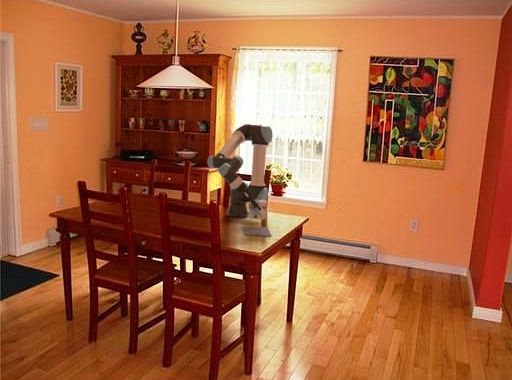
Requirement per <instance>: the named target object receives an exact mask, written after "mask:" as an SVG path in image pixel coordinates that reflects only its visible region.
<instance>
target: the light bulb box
mask: <svg viewBox="0 0 512 380" xmlns="http://www.w3.org/2000/svg"><path fill="white" fill-rule="evenodd" d="M255 201H256V202H257V204H258V205H260V207H261V208H262V209H263V210H264V211H265V212H266V213H265V214H263V215H262V214H261V213H260V212H259V211H258V210H257V209H256V208H254V206H253V204H252V203H251V202H250V201H249V203H248V218H249V219H250V220H251V219H254V220H266V219H267V213H268V212H267V211H268V203H269V202H268V201H267V200H255ZM255 205H256V204H255Z"/></svg>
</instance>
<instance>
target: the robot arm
mask: <svg viewBox="0 0 512 380" xmlns="http://www.w3.org/2000/svg"><path fill="white" fill-rule="evenodd" d="M272 140H273V130H272V128H271V126H270V125H267V124H259V123H246V124H243V125H241V126H239V127H238V128H237V129H235V130H234V132H232V134H231V137H230V138H229V139H228V140H227V142H226V143H225V144H224V145H223V146H222V147H221V148H220V150H219V151H218V152H217V153H216V154H215V155H209V156H208V158H207V160H206V161H207V166H208V167H209V168H212V169H214V170H215V169H216V170H217V172H218V173H219V175H220V176H221V178H223V179H224V180H225V181H226V182H227V183H228V184H229V187H230V195H229V205H228V208H227V211H226V216H227V217H230V218H234V219H235V218H238V219H240V218H241V219H243V218H247V217H248V211H249V209H248V206H247V203H248V204H249V201H250V202H251V203H252V204H253V206H254V208H256V209H257V210H258V211H259V212H260V213H261V214H262V215H263V214H265V213H266V212H265V211H264V210H263V209H262V208H261V207H260V205H258V204H257V202H256V201H255V200H266V201H267V199H268V198H269V197H268V196H269V189H268V188H267V187H266V183H265V171H266V170H265V169H266V156H267V147H268V146H269V144H270V143H271V142H272ZM247 141H248V142H249V141H250V142H251V145H252V146H253V151H252V165H251V178H250V180H251V181H250V182H249V183H247V182H245V181H244V180H243V179H242V177H240V176H239V174H238V171H239V170H240V169H241V168H242V166H243V165H244V159H243V158H242V157H241V156H240V155H234V156H233V157H231V156H232V155H233V154H234V153H235V151H236V150H237V148H239V147H240V145H242V144H244V142H247ZM255 204H256V205H255ZM248 218H249V217H248Z"/></svg>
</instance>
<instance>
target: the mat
mask: <svg viewBox="0 0 512 380" xmlns="http://www.w3.org/2000/svg"><path fill="white" fill-rule="evenodd" d="M242 229H243V232H244V236H245V237H269V238H270V237H272V236H273V235H272V233H271V232H270V229H269V228H268V227H265V226H264V227H262V226H261V227H257V226H242Z"/></svg>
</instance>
